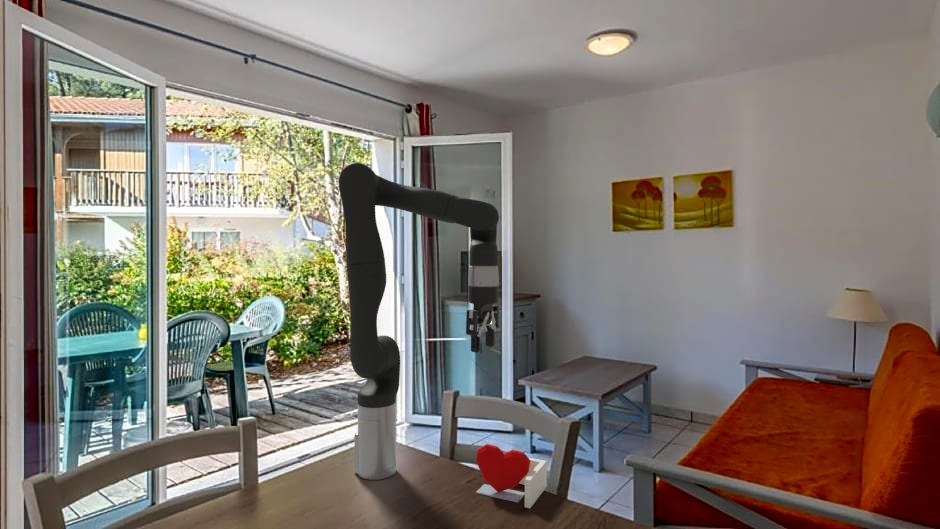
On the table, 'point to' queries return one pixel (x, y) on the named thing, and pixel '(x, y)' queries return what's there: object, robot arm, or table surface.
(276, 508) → the table surface
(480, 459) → the heart
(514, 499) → the pad
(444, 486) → the table surface
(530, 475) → the corner walls
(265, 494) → the table surface
